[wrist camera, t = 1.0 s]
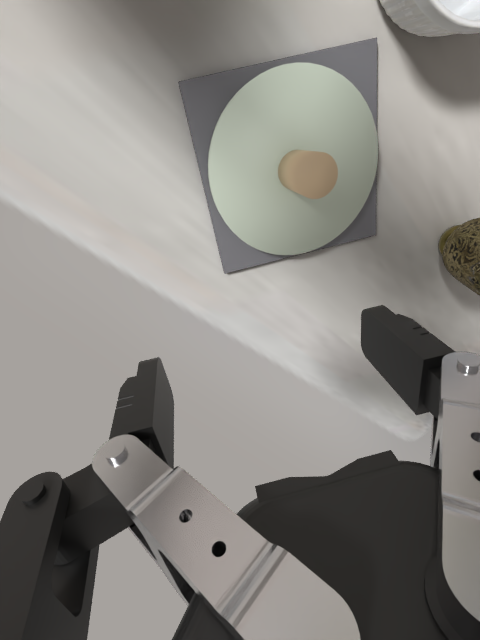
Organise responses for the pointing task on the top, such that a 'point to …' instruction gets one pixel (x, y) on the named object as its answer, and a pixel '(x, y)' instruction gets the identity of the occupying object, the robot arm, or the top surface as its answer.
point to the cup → (463, 253)
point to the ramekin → (435, 16)
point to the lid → (293, 158)
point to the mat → (218, 89)
